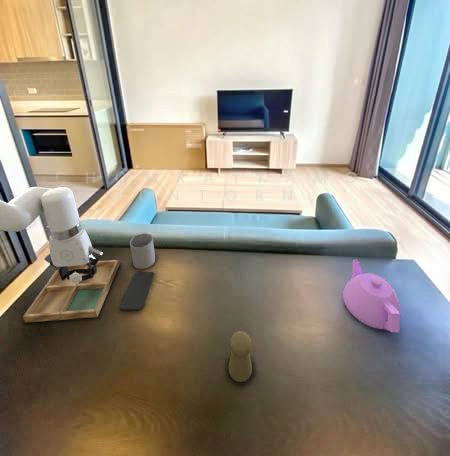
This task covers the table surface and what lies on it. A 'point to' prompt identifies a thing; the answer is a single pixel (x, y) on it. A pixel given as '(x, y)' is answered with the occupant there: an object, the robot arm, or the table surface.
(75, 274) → the watch
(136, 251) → the cup
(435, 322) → the table surface
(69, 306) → the tray
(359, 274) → the teapot
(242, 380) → the olive pawn figure
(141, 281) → the phone
